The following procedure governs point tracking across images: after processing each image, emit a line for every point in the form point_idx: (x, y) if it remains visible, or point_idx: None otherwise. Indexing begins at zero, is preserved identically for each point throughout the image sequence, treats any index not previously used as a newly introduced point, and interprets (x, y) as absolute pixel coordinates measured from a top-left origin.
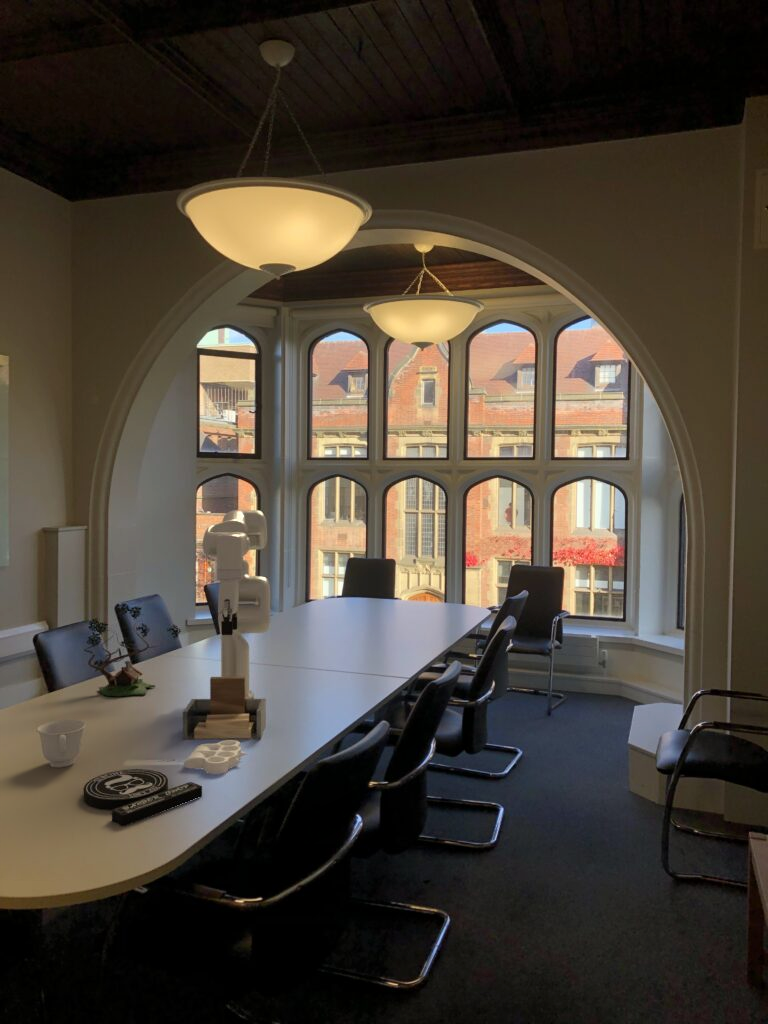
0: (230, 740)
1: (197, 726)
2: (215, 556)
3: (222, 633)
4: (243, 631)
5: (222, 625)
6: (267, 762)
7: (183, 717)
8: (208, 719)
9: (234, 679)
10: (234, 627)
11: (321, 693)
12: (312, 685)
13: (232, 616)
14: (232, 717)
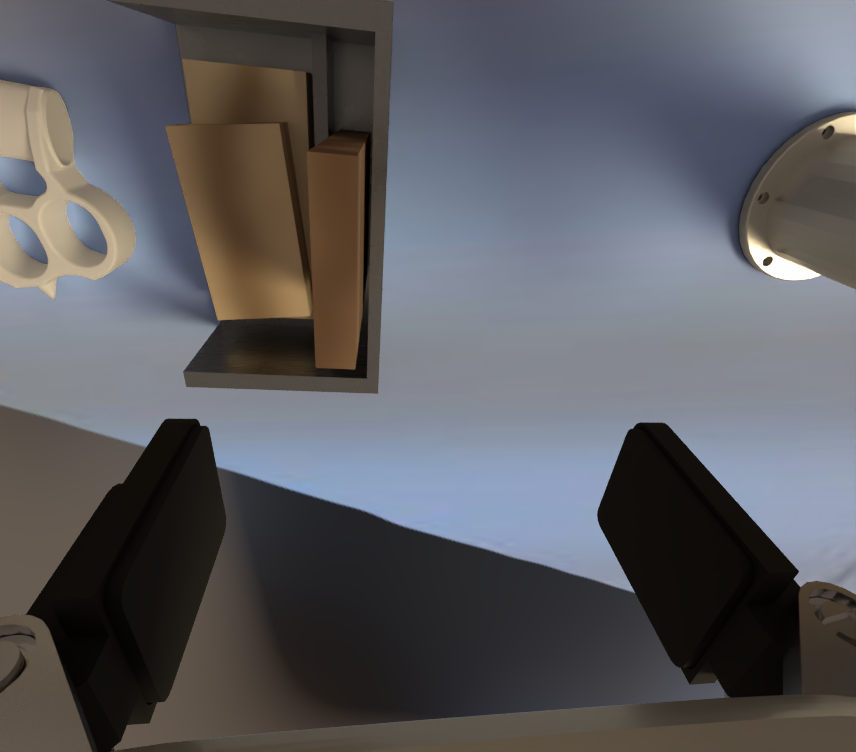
0: (109, 242)
1: (236, 71)
2: None
3: (166, 437)
4: None
5: (101, 539)
6: (46, 355)
7: None
8: (204, 136)
9: (313, 313)
10: (611, 518)
11: (720, 473)
12: (822, 451)
13: (719, 645)
14: (247, 252)
